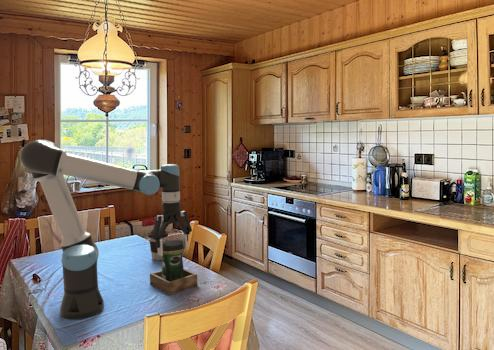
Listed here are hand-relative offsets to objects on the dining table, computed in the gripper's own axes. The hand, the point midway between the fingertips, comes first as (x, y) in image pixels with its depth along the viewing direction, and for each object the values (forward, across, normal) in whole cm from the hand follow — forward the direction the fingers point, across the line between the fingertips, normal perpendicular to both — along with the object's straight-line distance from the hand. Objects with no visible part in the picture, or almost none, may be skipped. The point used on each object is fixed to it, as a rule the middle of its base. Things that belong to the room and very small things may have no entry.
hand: (172, 251), depth 175 cm
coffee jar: (+14, 0, +1) cm, 14 cm away
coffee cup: (+15, +15, +36) cm, 42 cm away
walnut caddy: (+15, 0, 0) cm, 15 cm away
